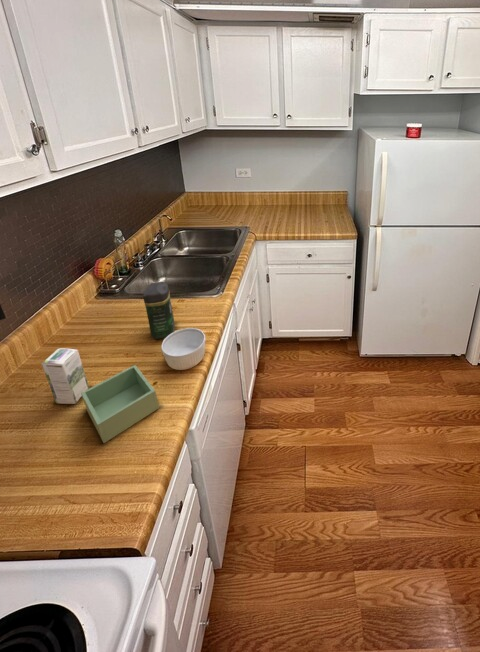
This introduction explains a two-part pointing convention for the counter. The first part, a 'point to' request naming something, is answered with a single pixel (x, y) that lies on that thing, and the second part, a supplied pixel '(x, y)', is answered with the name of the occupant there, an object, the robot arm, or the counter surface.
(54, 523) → the counter surface
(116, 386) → the bin
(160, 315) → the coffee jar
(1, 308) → the robot arm
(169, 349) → the ramekin
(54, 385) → the syrup box
